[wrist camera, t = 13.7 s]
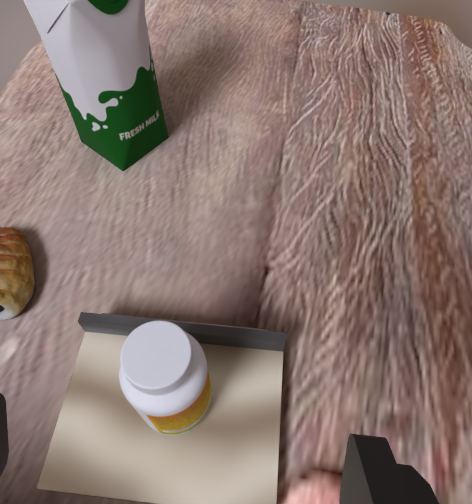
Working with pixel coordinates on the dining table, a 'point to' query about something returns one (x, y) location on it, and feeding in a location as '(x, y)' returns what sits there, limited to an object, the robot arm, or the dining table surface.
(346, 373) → the dining table surface
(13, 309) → the pastry
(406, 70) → the dining table surface
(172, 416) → the supplement bottle
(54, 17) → the milk carton
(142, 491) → the shelf board
